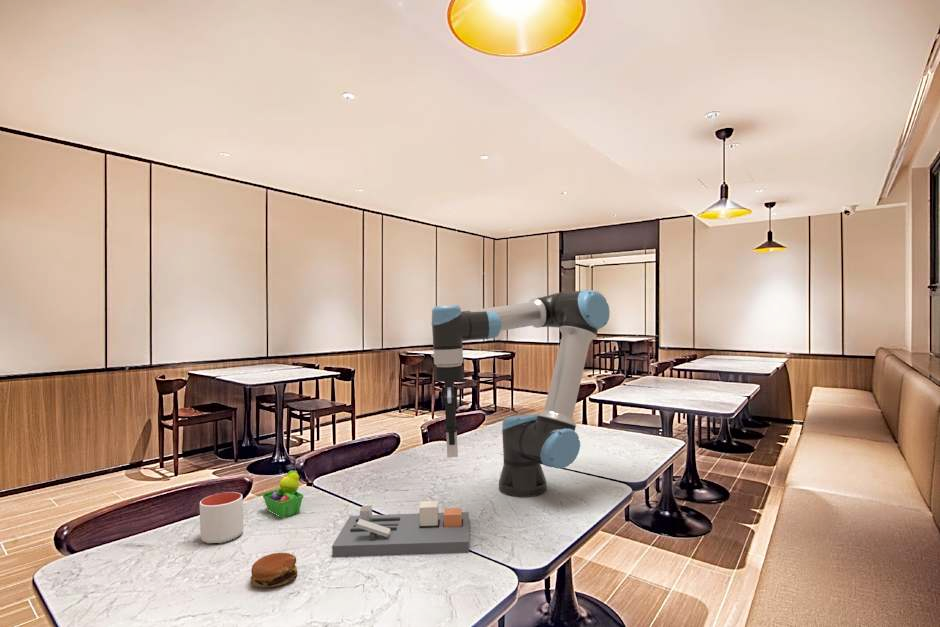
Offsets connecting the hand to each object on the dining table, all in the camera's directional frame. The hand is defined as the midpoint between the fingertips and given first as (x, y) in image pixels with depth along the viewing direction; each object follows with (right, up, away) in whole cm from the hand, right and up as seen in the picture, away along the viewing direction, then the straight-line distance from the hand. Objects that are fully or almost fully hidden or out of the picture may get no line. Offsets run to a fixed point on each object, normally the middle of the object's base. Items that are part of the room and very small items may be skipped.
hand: (452, 456), depth 132 cm
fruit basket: (-49, -21, +17) cm, 56 cm away
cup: (-60, -21, 0) cm, 63 cm away
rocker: (-19, -15, -9) cm, 26 cm away
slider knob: (-22, -17, -2) cm, 28 cm away
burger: (-38, -21, -22) cm, 48 cm away
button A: (0, -18, -2) cm, 18 cm away
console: (-12, -20, -4) cm, 23 cm away
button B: (-6, -16, -2) cm, 18 cm away
